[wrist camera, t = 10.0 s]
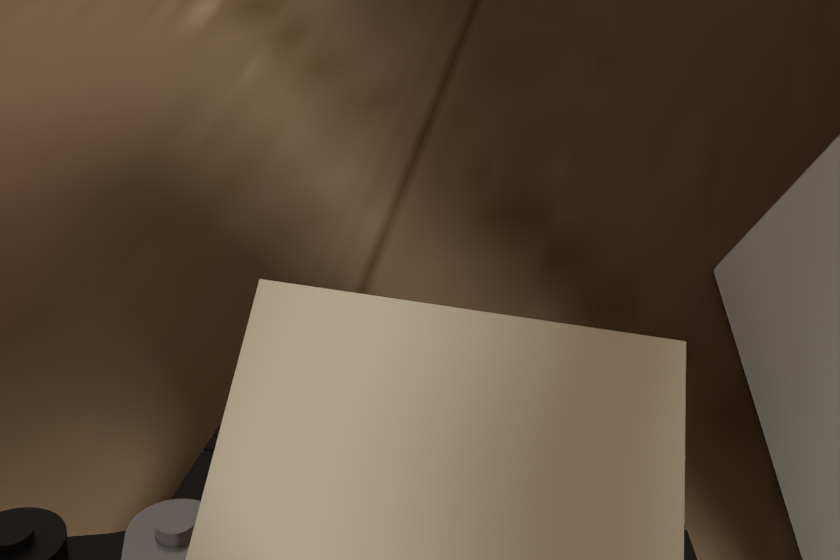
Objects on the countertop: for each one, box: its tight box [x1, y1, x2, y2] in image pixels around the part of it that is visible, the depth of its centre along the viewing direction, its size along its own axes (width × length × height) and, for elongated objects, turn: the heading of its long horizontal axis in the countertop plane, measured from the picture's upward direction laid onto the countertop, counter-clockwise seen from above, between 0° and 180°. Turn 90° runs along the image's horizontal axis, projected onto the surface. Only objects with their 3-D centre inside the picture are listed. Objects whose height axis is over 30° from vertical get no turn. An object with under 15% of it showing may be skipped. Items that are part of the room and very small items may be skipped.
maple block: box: [186, 279, 686, 560], centre depth 12 cm, size 5×5×10 cm
